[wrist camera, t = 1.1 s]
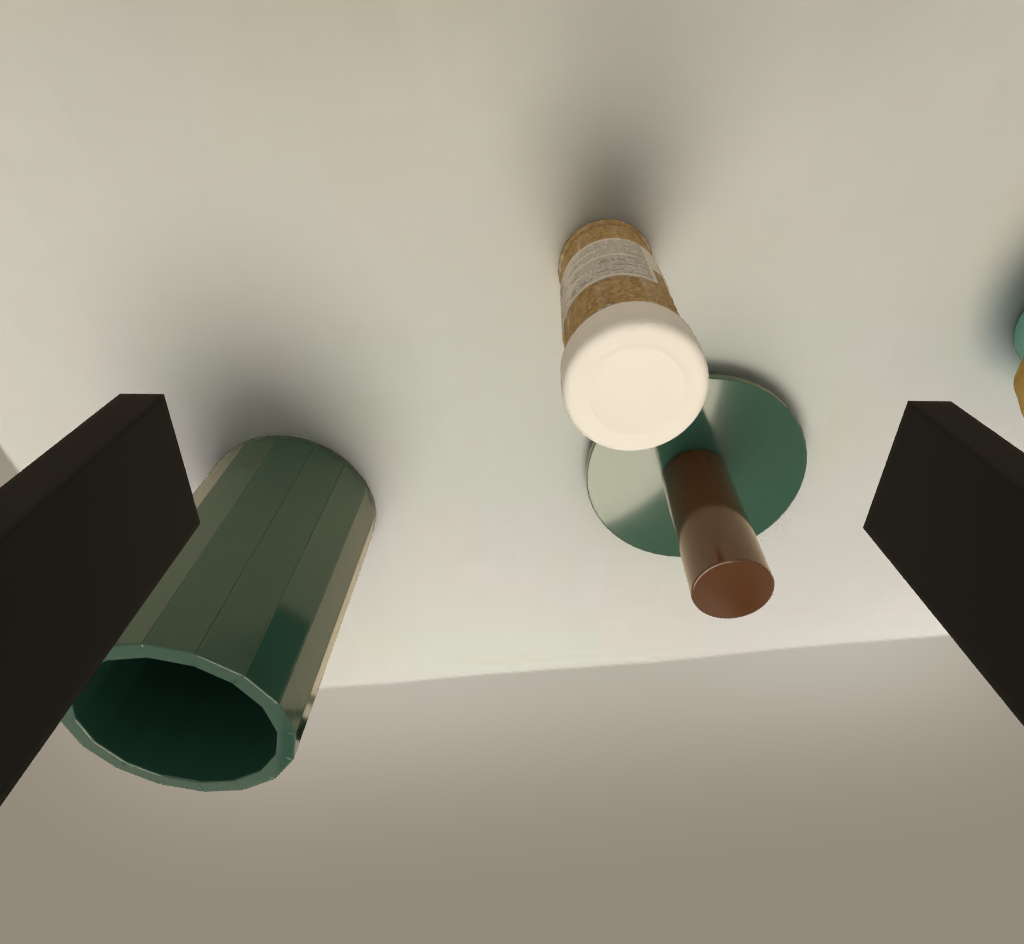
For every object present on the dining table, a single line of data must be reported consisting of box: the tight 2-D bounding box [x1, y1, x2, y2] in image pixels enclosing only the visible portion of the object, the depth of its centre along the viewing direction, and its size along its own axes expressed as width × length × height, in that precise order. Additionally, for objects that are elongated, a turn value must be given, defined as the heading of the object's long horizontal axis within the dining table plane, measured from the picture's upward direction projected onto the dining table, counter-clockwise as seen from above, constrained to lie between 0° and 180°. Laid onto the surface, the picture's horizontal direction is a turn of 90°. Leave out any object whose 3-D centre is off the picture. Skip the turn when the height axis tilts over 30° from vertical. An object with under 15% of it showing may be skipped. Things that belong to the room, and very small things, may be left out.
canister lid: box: [586, 374, 807, 618], centre depth 33 cm, size 12×12×10 cm
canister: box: [61, 436, 376, 792], centre depth 34 cm, size 10×10×16 cm
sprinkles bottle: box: [558, 219, 709, 451], centre depth 25 cm, size 5×5×13 cm
